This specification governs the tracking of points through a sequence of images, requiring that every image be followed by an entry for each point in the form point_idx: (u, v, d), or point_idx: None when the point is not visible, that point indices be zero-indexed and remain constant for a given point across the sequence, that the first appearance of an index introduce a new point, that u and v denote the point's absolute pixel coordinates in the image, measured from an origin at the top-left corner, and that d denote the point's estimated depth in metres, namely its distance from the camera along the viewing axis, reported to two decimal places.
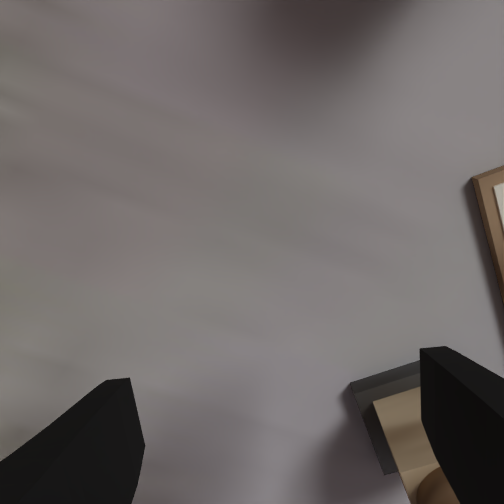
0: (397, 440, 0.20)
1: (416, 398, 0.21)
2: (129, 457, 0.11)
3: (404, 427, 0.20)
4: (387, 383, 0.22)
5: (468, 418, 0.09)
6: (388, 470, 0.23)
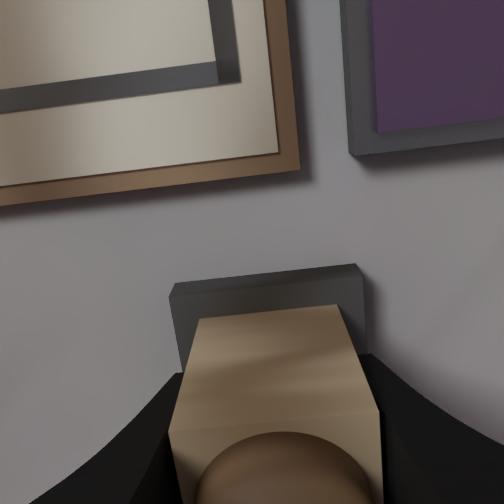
0: None
1: None
2: None
3: None
4: None
5: None
6: None
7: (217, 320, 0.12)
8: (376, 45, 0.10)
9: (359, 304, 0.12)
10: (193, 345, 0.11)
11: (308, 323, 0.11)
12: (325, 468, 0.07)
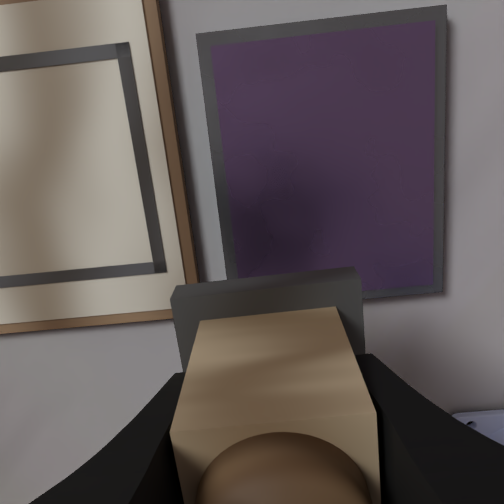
0: None
1: None
2: None
3: None
4: None
5: None
6: None
7: (217, 321, 0.12)
8: (237, 260, 0.19)
9: (357, 306, 0.12)
10: (194, 347, 0.11)
11: (307, 325, 0.12)
12: (323, 468, 0.08)
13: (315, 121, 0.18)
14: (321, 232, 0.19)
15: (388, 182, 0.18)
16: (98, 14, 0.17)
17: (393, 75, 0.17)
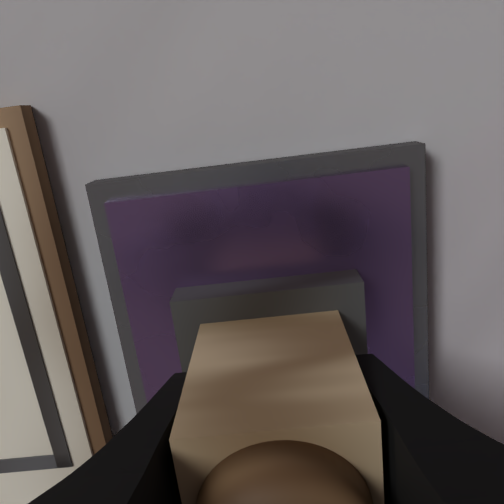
0: None
1: None
2: None
3: None
4: None
5: None
6: None
7: (217, 325, 0.12)
8: None
9: (360, 310, 0.12)
10: (194, 351, 0.11)
11: (309, 329, 0.11)
12: (326, 478, 0.07)
13: None
14: None
15: None
16: None
17: (354, 236, 0.13)
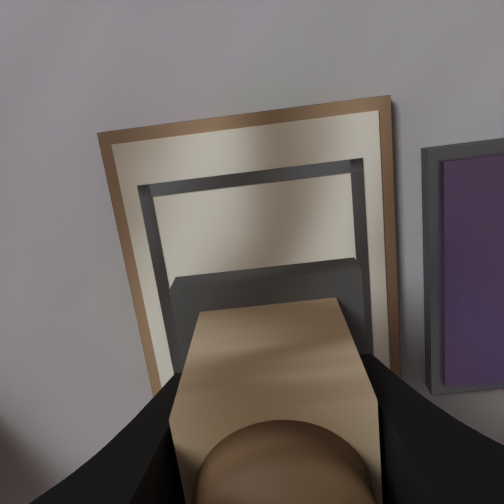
0: None
1: None
2: None
3: None
4: None
5: None
6: None
7: (217, 313, 0.12)
8: (446, 351, 0.21)
9: (358, 297, 0.12)
10: (193, 337, 0.11)
11: (307, 316, 0.12)
12: (324, 455, 0.08)
13: None
14: None
15: None
16: (335, 133, 0.18)
17: None
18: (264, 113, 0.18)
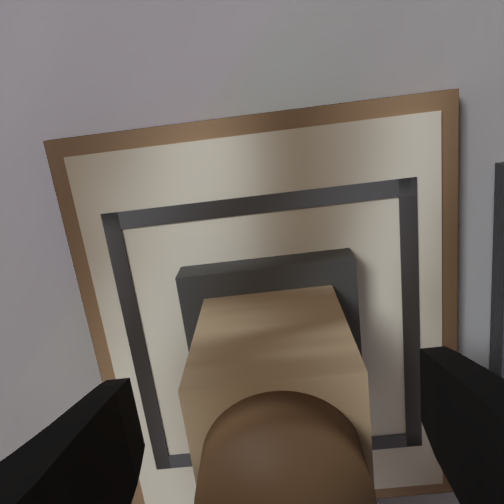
0: None
1: None
2: (129, 457, 0.11)
3: None
4: None
5: (468, 418, 0.09)
6: None
7: (220, 299, 0.13)
8: None
9: (353, 285, 0.13)
10: (198, 321, 0.12)
11: (305, 301, 0.12)
12: (318, 420, 0.08)
13: None
14: None
15: None
16: (378, 142, 0.13)
17: None
18: (279, 114, 0.13)
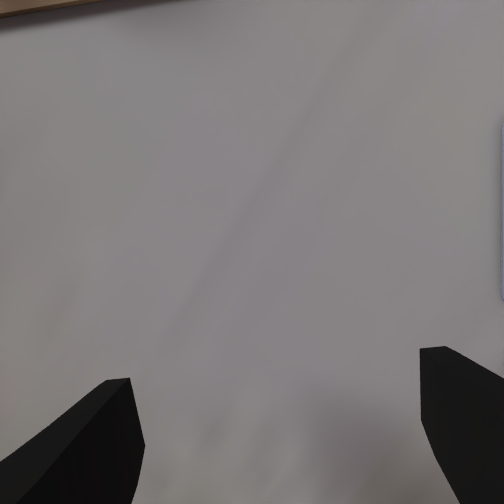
0: None
1: None
2: (129, 457, 0.11)
3: None
4: None
5: (468, 418, 0.09)
6: None
7: None
8: None
9: None
10: None
11: None
12: None
13: None
14: None
15: None
16: None
17: None
18: None
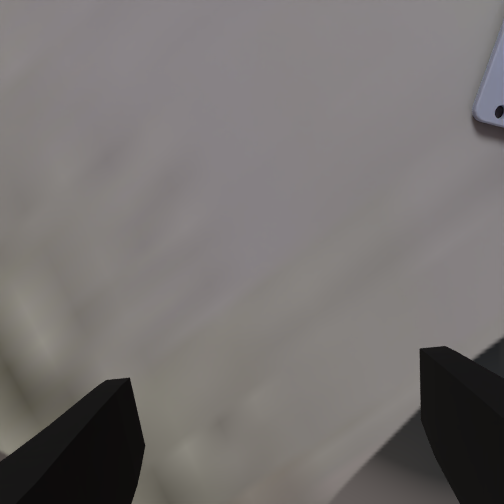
0: None
1: None
2: (129, 457, 0.11)
3: None
4: None
5: (468, 418, 0.09)
6: None
7: None
8: None
9: None
10: None
11: None
12: None
13: None
14: None
15: None
16: None
17: None
18: None
